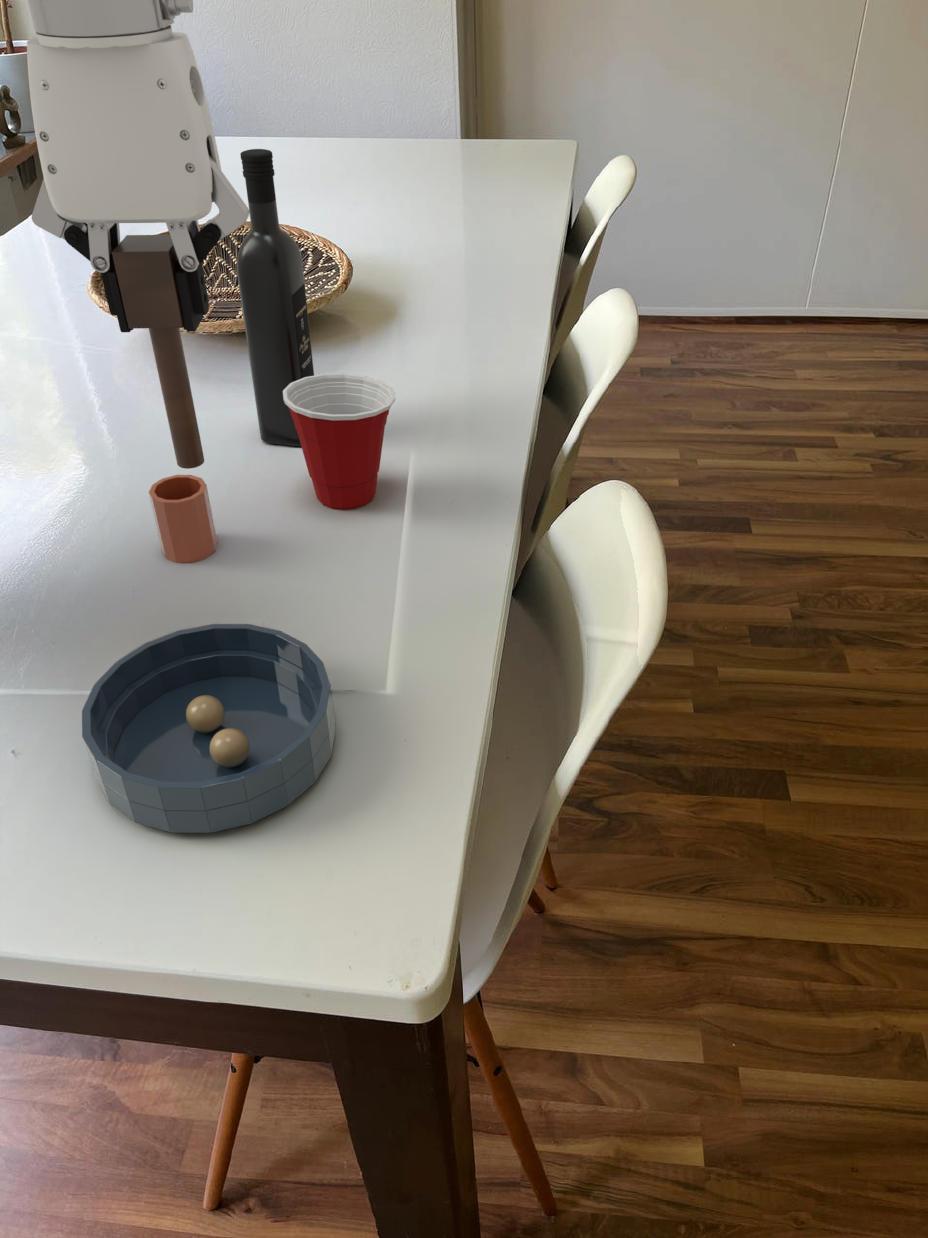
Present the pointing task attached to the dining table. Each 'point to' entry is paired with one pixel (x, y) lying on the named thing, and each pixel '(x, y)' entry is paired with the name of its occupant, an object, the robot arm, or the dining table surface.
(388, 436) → the dining table surface
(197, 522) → the stick holder
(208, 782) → the bowl
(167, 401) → the stick
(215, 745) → the bead
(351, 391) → the plastic cup
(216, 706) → the bead
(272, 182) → the wine bottle
